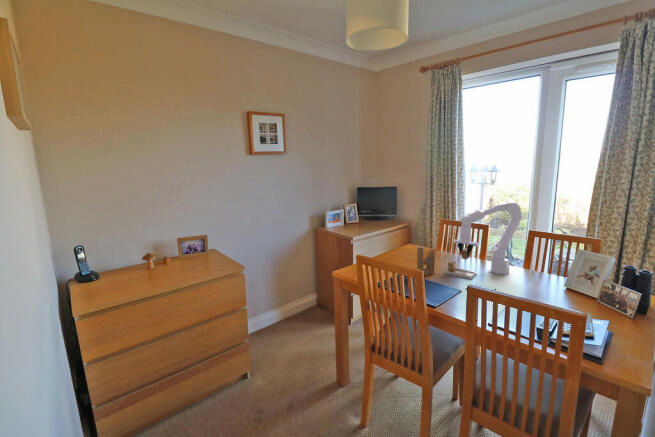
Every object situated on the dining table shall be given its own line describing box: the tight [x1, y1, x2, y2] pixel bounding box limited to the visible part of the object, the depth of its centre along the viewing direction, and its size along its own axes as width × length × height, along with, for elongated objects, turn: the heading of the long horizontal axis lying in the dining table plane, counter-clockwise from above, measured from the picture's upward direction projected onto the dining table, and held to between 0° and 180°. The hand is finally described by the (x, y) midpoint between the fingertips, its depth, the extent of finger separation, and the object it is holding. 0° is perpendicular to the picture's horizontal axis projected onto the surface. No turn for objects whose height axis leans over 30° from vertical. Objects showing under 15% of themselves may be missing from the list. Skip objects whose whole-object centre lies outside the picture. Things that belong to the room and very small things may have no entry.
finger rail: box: [446, 260, 478, 280], centre depth 186 cm, size 15×8×6 cm, turn 45°
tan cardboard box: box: [460, 248, 470, 260], centre depth 193 cm, size 3×4×6 cm
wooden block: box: [416, 246, 436, 277], centre depth 188 cm, size 4×11×18 cm, turn 106°
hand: (465, 255), depth 193 cm, fingers closed on tan cardboard box, 3 cm apart
